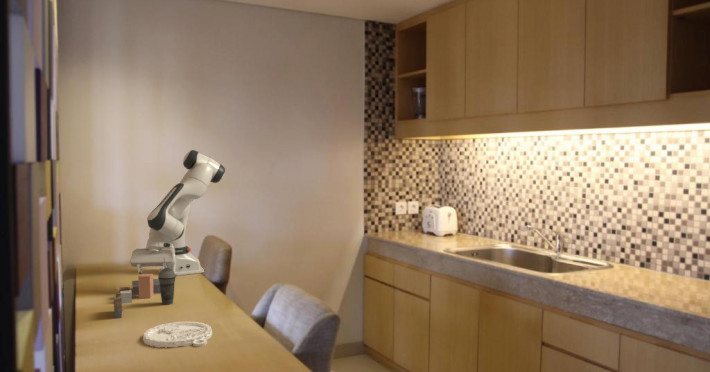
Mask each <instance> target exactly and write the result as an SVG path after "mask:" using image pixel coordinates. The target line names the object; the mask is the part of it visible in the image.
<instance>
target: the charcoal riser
mask: <svg viewBox="0 0 710 372" xmlns="http://www.w3.org/2000/svg"><path fill="white" fill-rule="evenodd" d="M131 282H132V283H131V284H132V285H131V289H132V290H131V291H132V296H139V280H138V279H137V280H132V281H131ZM153 294H161V291H160V283H159V278H153Z"/></svg>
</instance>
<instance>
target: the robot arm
mask: <svg viewBox="0 0 710 372" xmlns="http://www.w3.org/2000/svg"><path fill="white" fill-rule="evenodd" d="M182 165H183V167H184V168H185V169H186V170H187V171H186V173H185V174H184V175H183V177H182V179H181V180H180V181H179V183H177V184H175V185H174V186H173V187H172V188H171V189H170V191H168V193H167V194H166V195H165V196H164V197H163V198H162V200H161V201H160V202H159V204H158V205H156V207H155V208H154V209H153V210H152V211H151V212H149V214H148V216H147V218H146V219H147V225H148V227H149V228H150V230H149V232H148V239H147V242H146V246H145V248H136V249H134V250H133V251H132V253H131V258H130V259H129V264H130V265H131V267H132V268H136V267H137V269H138V271H137V273H138V275H141V274H143V271H144V270H143V269H142V268H144V267H147V268H148V267H161V268H159V271H158V272H159V273H160V271H161V270H162V269H164V268H165V266H164V258H165V264H166V268H171V269H172V270H173V271H174V272H175V276H176V277H178V276H184V275H185V276H186V275H194V274H201V273H204V272H205V271H204V269H205V268H204V267H203V266H201V262H200V259H199V258H198V257H197V256H195V255H194V254H192V253H191V251H192V248H191V247H190V246H187V245H186V233H187V225H188V221H189V220H188V219H189V216H190V214H191V211H192V210H191V209H192V207H191V202H193V201H194V200H198V199H200V198H201V197H203V196H204V195H205V194H206V191H207V189H208V187H209V186H210V183H212V184H217V183H219V182H221V180H223V179H224V177H225V174H226V168H225V166H224V165H222V164H221V163H219V162H217V161H216V160H214V159H213V158H211V157H209V156H207V155H205V154H203V153H201V152H199V151H197V150H194V149H192V150H190V151H188V152H187V153H186V154H185V155H184V157H183V162H182ZM202 267H203V268H204V269H203V268H202ZM159 273H158V274H159Z"/></svg>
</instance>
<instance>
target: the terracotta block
mask: <svg viewBox="0 0 710 372" xmlns="http://www.w3.org/2000/svg"><path fill="white" fill-rule="evenodd" d="M137 278H138V279H137V280H139V295H138V299H152V297H154V294H153V279H154V273H142V274H139V275H138V277H137Z"/></svg>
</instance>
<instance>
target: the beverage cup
mask: <svg viewBox="0 0 710 372" xmlns="http://www.w3.org/2000/svg"><path fill="white" fill-rule="evenodd" d="M164 266H165V268H164V269H162V270H161V271H160V273H158V278H157V279H159V283H160V291H161V293H160V299H161V305H162V306H169V305H173V303H174V296H175V295H174V293H175V283H176V278H177V276H175V272H174V271H173V270H172V269H171V268H166V264H165V258H164Z"/></svg>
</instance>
